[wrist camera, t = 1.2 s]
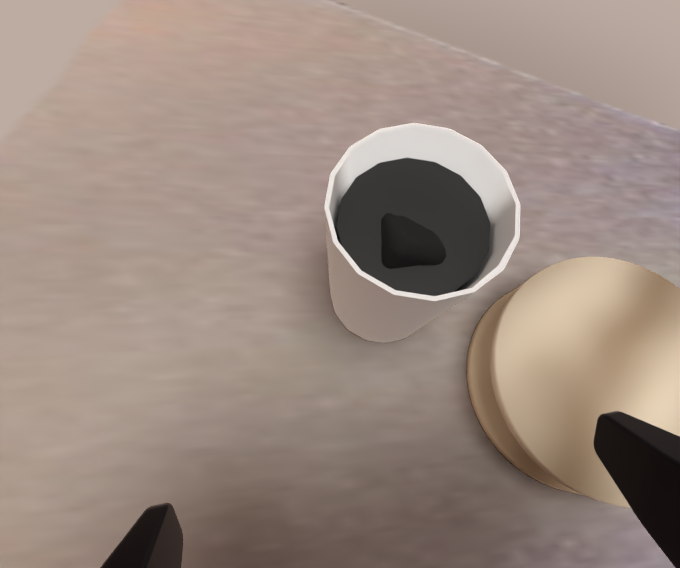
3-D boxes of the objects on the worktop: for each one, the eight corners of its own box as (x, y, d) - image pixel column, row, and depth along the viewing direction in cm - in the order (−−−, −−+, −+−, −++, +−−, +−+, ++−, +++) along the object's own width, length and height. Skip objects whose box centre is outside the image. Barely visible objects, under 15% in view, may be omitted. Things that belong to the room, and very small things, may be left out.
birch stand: (687, 333, 24) (757, 317, 20) (644, 534, 20) (719, 560, 17) (504, 251, 25) (538, 221, 21) (436, 430, 21) (461, 432, 18)
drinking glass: (447, 348, 23) (538, 297, 13) (324, 353, 22) (327, 304, 13) (433, 236, 25) (503, 122, 15) (320, 239, 24) (321, 123, 15)
